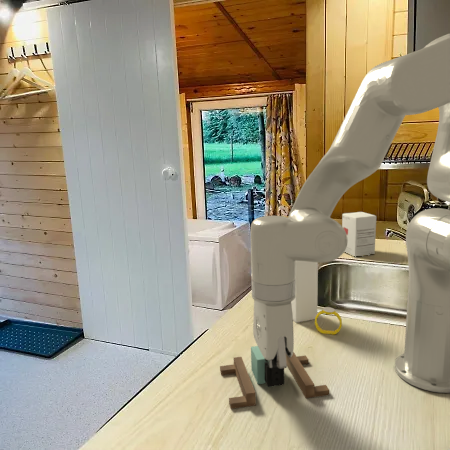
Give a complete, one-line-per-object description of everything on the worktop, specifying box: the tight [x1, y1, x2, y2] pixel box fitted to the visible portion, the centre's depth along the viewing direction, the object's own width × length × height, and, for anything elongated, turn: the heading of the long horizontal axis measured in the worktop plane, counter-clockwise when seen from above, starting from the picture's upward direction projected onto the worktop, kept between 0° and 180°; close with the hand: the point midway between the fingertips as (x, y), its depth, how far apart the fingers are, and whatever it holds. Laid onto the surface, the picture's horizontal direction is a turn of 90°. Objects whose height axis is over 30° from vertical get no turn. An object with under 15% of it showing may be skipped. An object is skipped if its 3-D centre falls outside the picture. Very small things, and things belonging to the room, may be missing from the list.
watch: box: [314, 306, 343, 336], centre depth 96 cm, size 6×3×6 cm, turn 72°
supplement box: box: [341, 211, 377, 258], centre depth 155 cm, size 9×9×15 cm
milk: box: [291, 261, 319, 323], centre depth 103 cm, size 6×6×22 cm
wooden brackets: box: [219, 351, 330, 410], centre depth 78 cm, size 18×12×2 cm
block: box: [250, 345, 268, 385], centre depth 80 cm, size 5×5×5 cm
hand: (274, 383), depth 75 cm, fingers closed
